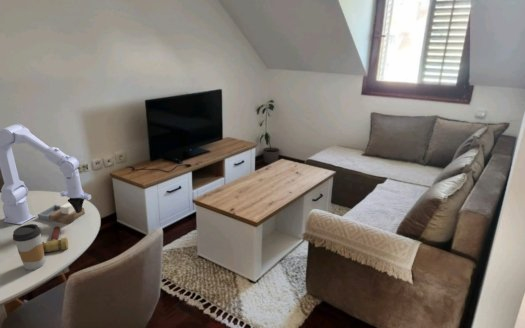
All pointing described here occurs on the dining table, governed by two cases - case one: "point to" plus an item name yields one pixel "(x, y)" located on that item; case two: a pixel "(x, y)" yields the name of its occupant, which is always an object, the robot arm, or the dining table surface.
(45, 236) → the dining table surface
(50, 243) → the gavel
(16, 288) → the dining table surface
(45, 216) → the tray
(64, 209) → the tile block
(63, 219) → the board
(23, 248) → the coffee cup
